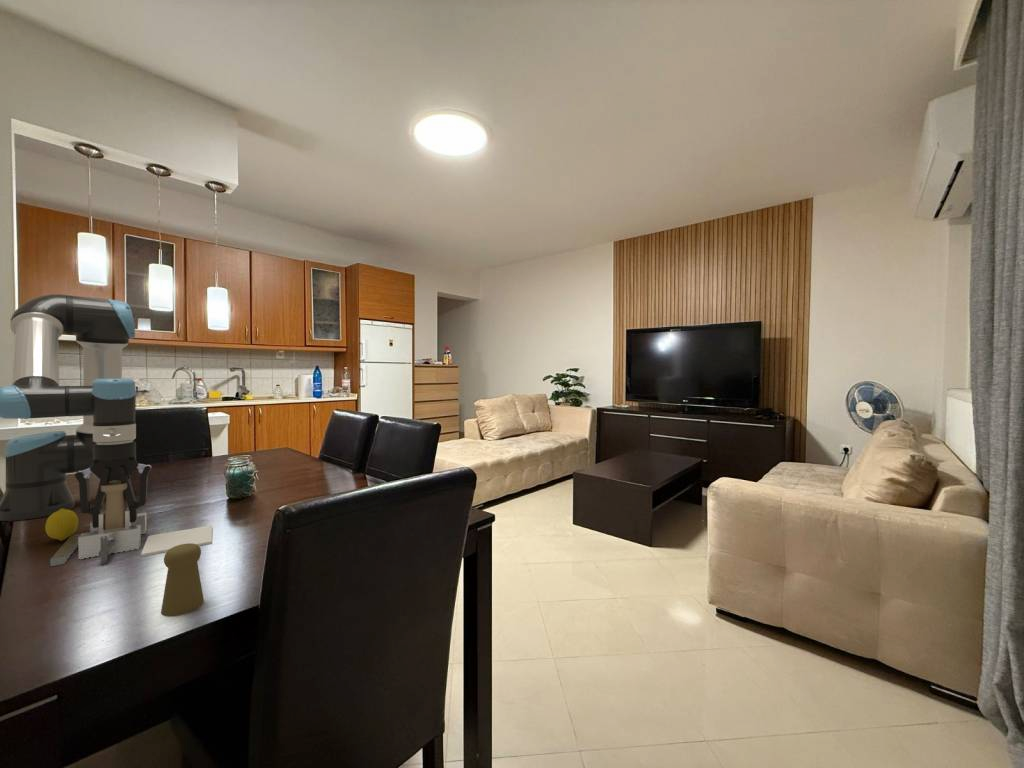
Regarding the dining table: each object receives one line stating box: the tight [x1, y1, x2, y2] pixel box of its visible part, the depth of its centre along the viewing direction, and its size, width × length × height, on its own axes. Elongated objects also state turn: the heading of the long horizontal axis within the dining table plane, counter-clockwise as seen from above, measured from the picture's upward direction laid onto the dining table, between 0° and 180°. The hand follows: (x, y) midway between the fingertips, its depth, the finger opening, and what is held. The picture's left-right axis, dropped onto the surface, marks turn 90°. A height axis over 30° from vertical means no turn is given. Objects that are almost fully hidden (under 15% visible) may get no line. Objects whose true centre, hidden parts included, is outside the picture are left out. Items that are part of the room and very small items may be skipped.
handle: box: [101, 480, 127, 530], centre depth 100 cm, size 5×6×15 cm
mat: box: [140, 524, 213, 557], centre depth 102 cm, size 13×13×1 cm
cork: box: [160, 543, 205, 617], centre depth 74 cm, size 6×6×11 cm
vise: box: [49, 512, 148, 567], centre depth 96 cm, size 21×14×7 cm, turn 36°
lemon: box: [44, 508, 79, 542], centre depth 101 cm, size 6×6×8 cm
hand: (115, 537), depth 100 cm, fingers closed on handle, 4 cm apart
